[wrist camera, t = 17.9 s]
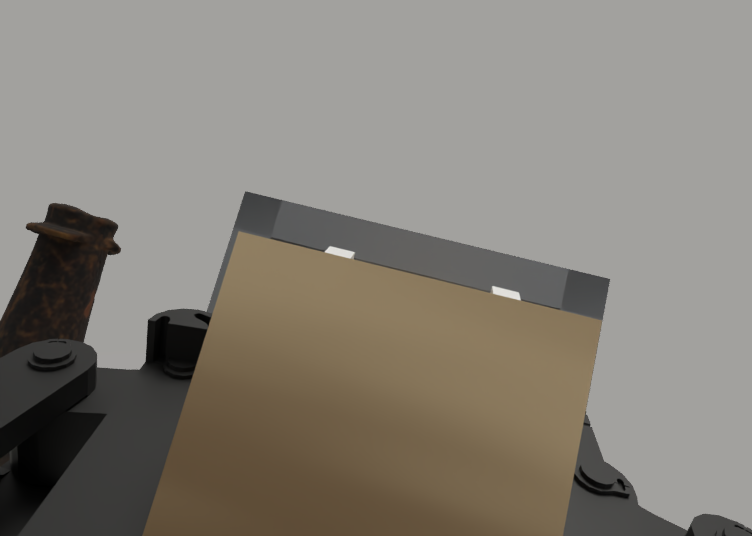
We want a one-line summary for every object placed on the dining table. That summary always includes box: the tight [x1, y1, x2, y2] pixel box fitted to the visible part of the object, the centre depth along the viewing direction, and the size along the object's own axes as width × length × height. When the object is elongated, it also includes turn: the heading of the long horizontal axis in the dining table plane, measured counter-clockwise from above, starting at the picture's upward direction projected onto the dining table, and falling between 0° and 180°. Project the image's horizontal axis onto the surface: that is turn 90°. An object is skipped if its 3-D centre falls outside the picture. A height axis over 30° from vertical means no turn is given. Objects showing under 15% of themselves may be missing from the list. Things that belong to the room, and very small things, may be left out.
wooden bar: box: [142, 231, 602, 536], centre depth 20 cm, size 30×4×4 cm, turn 177°
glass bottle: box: [0, 203, 121, 467], centre depth 34 cm, size 18×18×28 cm
